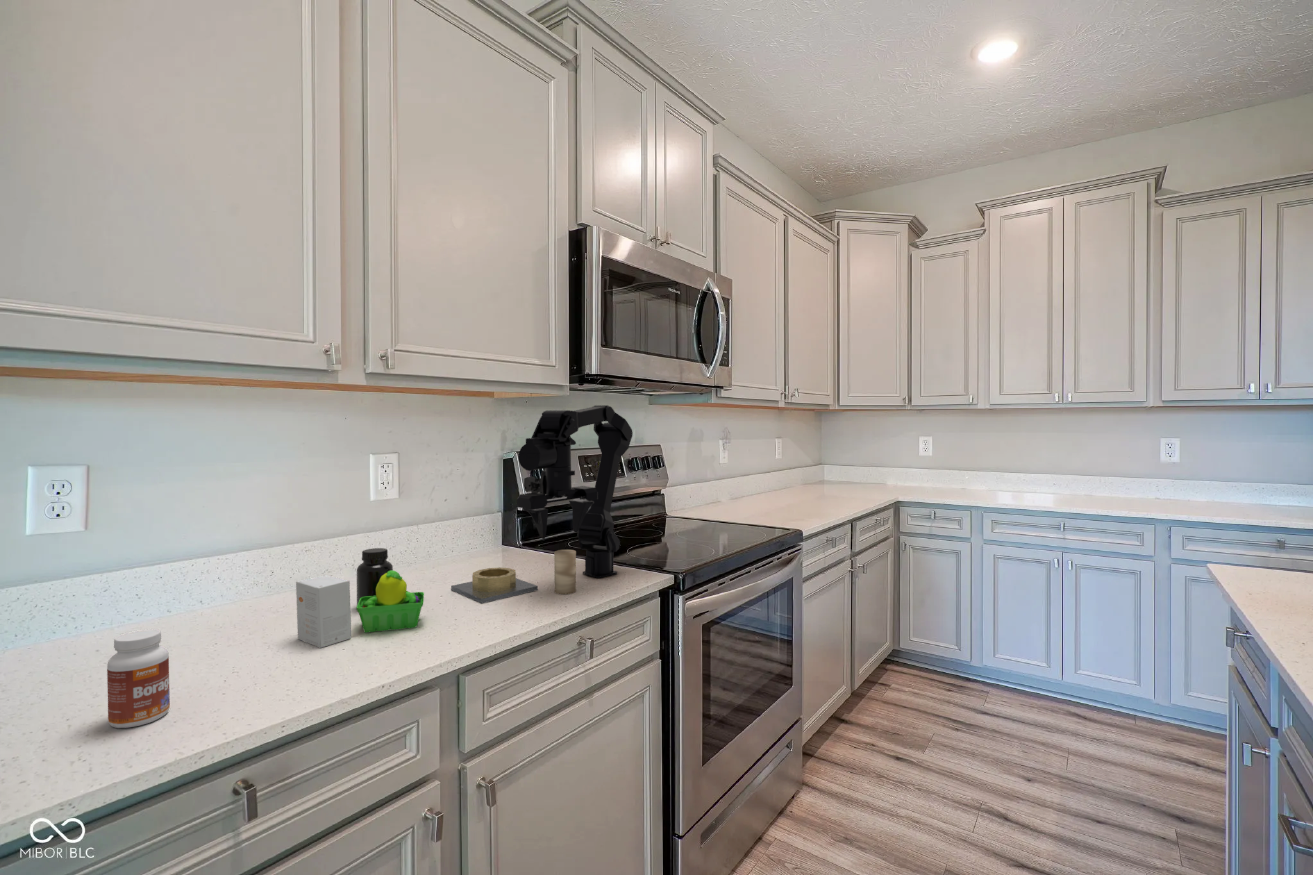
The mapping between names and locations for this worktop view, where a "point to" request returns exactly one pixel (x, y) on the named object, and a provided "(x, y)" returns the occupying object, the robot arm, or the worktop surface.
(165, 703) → the pill bottle
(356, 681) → the worktop surface
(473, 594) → the ring collar
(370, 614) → the fruit basket
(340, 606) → the small box
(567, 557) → the piston
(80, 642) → the worktop surface
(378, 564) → the supplement bottle
